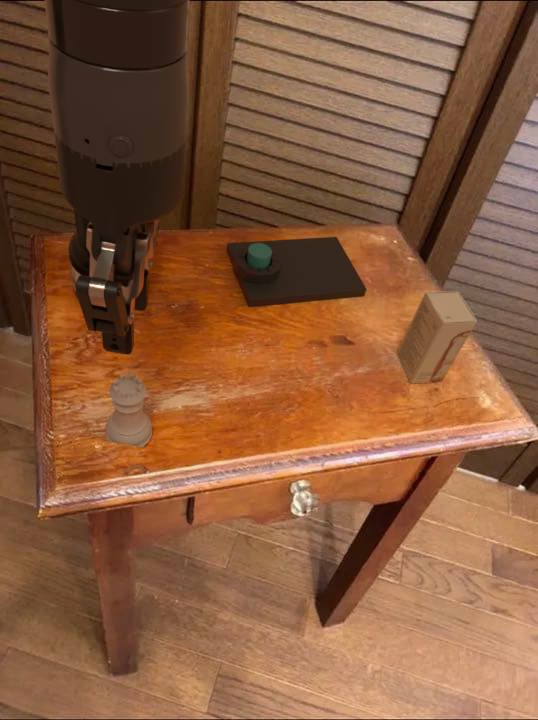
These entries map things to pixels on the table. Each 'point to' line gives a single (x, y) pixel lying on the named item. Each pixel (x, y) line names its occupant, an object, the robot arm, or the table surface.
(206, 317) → the table surface
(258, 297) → the black kitchen scale
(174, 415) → the table surface
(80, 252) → the ink bottle
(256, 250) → the button
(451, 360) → the beige upright block
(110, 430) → the rook chess piece
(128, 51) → the robot arm
